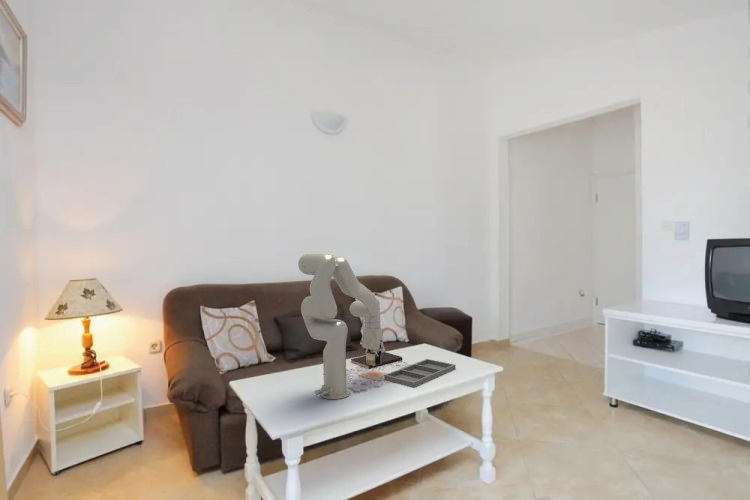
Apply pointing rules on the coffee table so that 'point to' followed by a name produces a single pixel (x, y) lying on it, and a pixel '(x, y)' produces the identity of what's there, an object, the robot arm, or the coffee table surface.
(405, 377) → the grey organiser
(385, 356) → the hardcover book
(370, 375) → the terracotta tile
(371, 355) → the birch cube
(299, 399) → the coffee table surface
